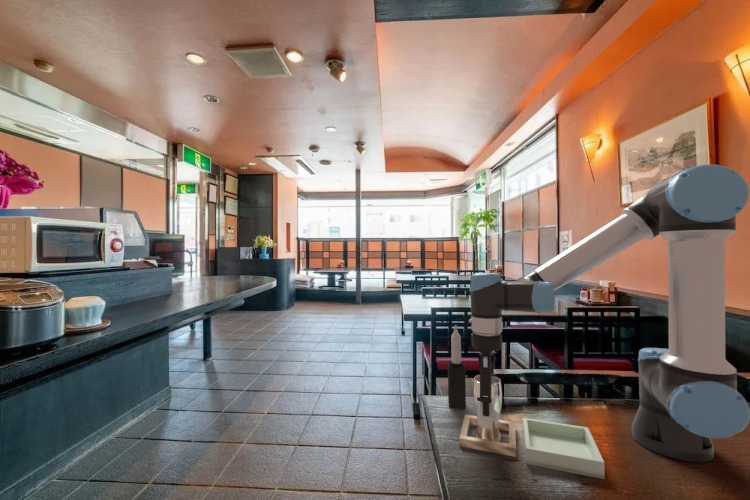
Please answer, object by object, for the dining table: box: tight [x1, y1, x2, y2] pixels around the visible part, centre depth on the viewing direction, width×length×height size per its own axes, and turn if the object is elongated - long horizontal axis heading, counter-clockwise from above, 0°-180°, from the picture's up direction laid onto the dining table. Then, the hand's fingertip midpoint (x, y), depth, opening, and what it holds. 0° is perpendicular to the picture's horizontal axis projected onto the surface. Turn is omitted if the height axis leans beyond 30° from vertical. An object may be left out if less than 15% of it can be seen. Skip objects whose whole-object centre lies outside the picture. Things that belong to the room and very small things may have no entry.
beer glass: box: [472, 374, 503, 442], centre depth 87 cm, size 7×7×15 cm
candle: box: [447, 324, 467, 410], centre depth 105 cm, size 5×5×25 cm
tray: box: [522, 417, 606, 480], centre depth 80 cm, size 15×15×4 cm
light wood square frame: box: [458, 413, 517, 458], centre depth 87 cm, size 13×13×2 cm
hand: (487, 415), depth 87 cm, fingers open, 13 cm apart
